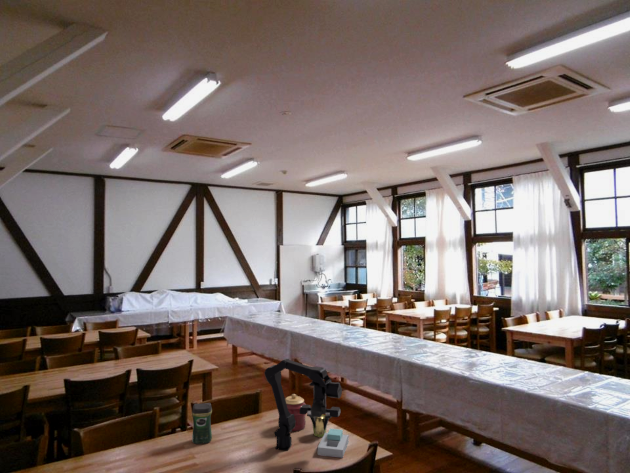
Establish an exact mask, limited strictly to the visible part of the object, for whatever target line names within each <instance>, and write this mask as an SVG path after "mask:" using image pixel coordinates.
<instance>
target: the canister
mask: <svg viewBox="0 0 630 473" xmlns="http://www.w3.org/2000/svg"><path fill="white" fill-rule="evenodd" d="M285 400H286V404H287V408H288V411H289V413H290V414H294V418H295V420H296V422H295V427H294V428H293V429H292V432H297V431H302V430H304V429H305V428H306V425H307V424H306V414H299V410H300V408H301V406H302V405H303V404H305V405H307V404H306V403H305V399H304V398H303V397H301V396H300V395H299V396H298V395H297V394H295V393H292V394H291V395H289V396H287V397H285Z"/></svg>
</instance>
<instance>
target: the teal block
mask: <svg viewBox="0 0 630 473" xmlns="http://www.w3.org/2000/svg"><path fill="white" fill-rule="evenodd" d="M343 431H344V430H343V429H340V428H339V429H338V428H329V430H328V432H327V433H328V434H327V439H330V440H339V441H340V440H341V438H342V435H343V434H344V432H343Z"/></svg>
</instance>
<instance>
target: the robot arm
mask: <svg viewBox="0 0 630 473" xmlns="http://www.w3.org/2000/svg"><path fill="white" fill-rule="evenodd" d="M284 370H288V371H290V372H291V371H292V372H295V373H297V374H300V375H302V376H303V375H304V376H306V377H307V378H308V379H309V380H310V381H311V382H310V383H309V386H311V387H313V400H312V405H311V404H306V403H305V404H306V405H305V404H303V405H302V406H301V408H300V410H299V414H305V415H306V417H308V418H310V420H311V424H312V423H313V424H312V427H313V426H314V429H315V417H321V416H322V415H325V424H324V430H325V429H326V430H327V428H328V427H327V426H328V423H329V420H330V419H331V418H338V417H339V416H340V415H341V408H340V406H332V407H330V408H327V397H328V398H335V399H341V397H342V395H343V394H342V393H343V389H342V386H341V383H340V382H334V381H333V382H332V379H331V377H330V376H329V375H328V372H327V369H326V368H325V367H323V366H309V365H307V364H303V363H300V362H297V361H294V360H291V359H290V358H284V359H282V360H281V361H280V362H278V363H277V364H272V365H271V366H269V367H266V368H265V371H264V376H265V380H266V381H267V383H268V384H269V385H270V387H271V390H272V393H273V396H274V397H273V398H274V401H275V404H276V409H277V412H278V422H277V423H278V428H277V429H276V430H275V431H273V432H274V437H275V438H276V446H275V448H274V449H275V450H280V451H289V450H290V448H291V447H292V442H293V441H292V435H291V432H293V431H292V429H293V428H294V427H295V422H296V420H295V418H294V414H290V413H289V411H288V408H287V404H286V400H285V399H286V397H285V392H284V389H283V386H282V383H281V382H282V372H283V371H284Z"/></svg>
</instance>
